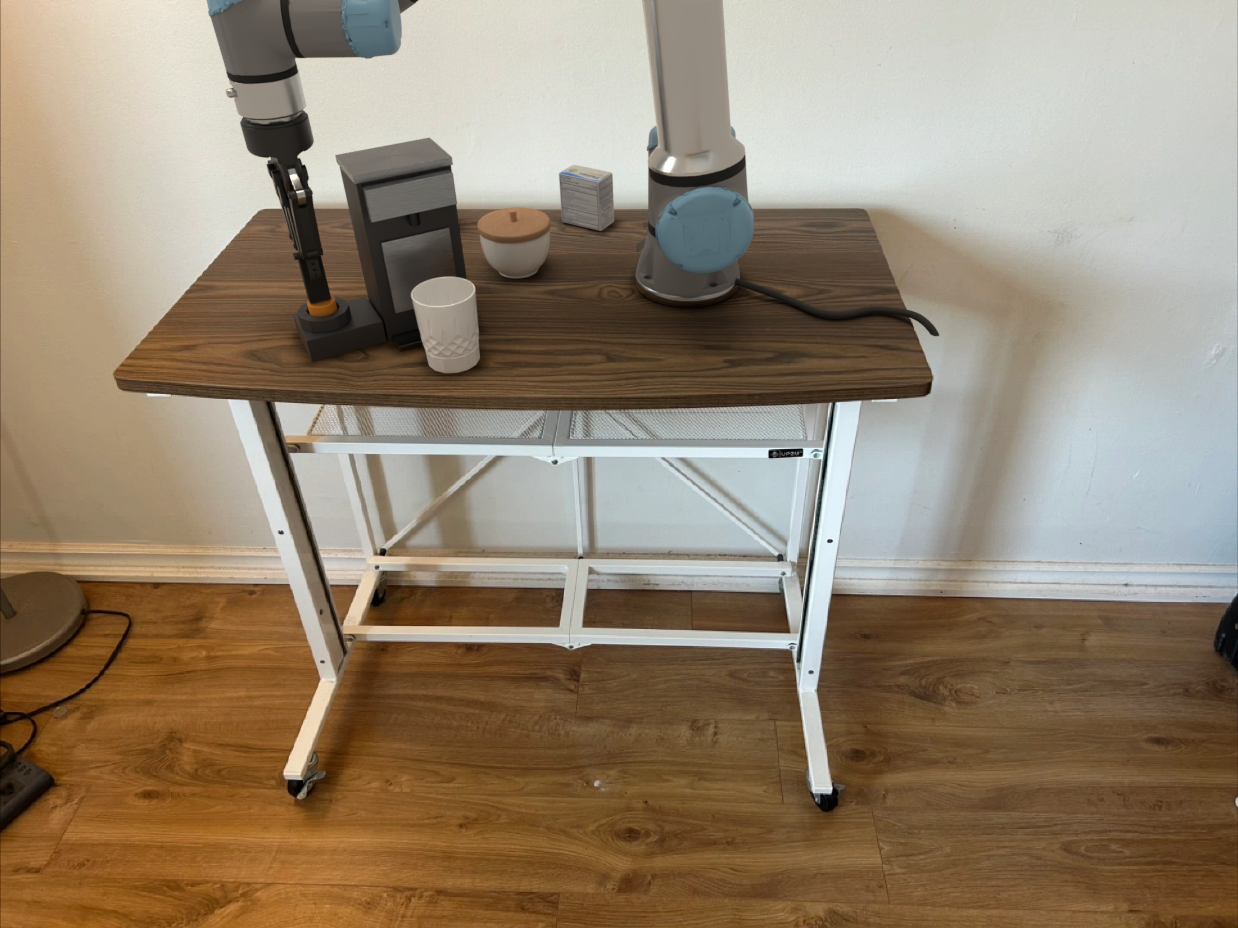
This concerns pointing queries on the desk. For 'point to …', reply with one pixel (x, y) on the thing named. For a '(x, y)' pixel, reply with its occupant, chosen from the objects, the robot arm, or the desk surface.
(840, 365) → the desk surface
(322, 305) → the button
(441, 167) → the coffee machine
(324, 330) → the button base
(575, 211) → the medicine box
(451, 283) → the white cup
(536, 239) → the trinket box
